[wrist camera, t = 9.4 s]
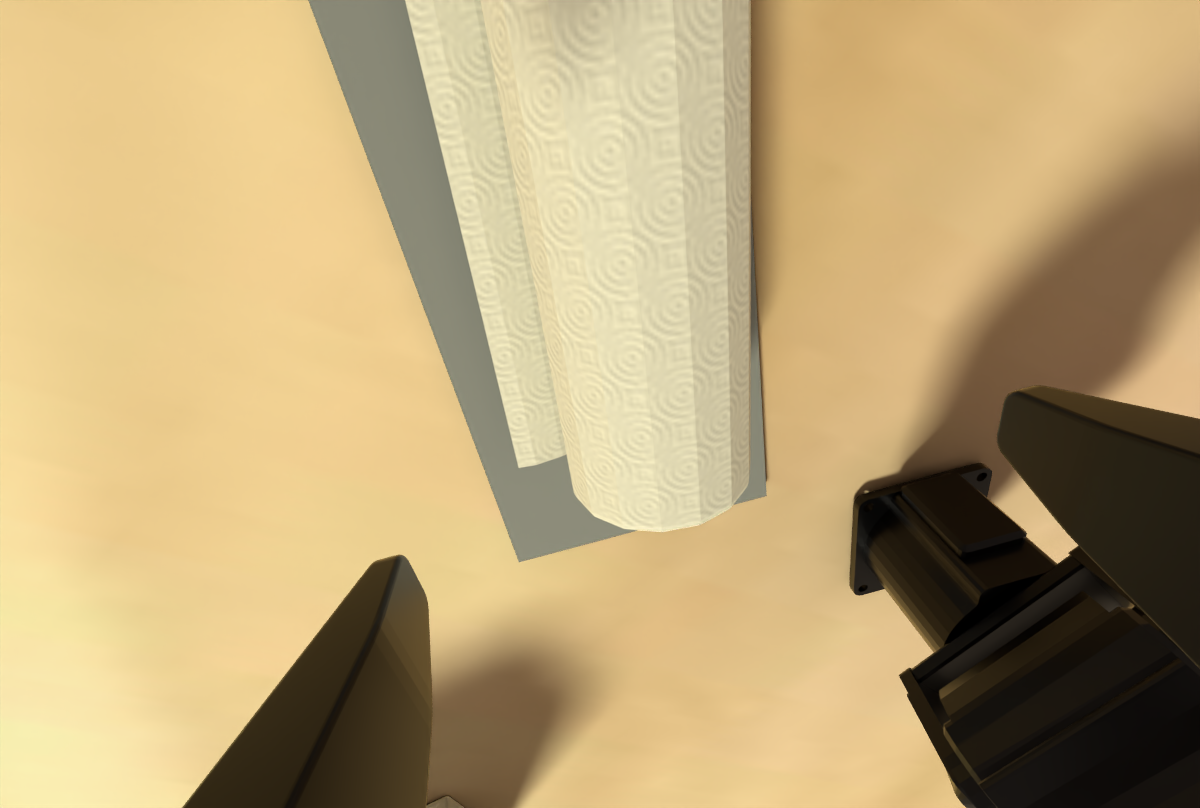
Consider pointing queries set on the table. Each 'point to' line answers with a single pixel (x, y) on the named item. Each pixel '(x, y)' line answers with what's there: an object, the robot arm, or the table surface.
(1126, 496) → the robot arm
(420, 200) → the gray mat
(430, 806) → the skincare box
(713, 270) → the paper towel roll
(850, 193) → the table surface
